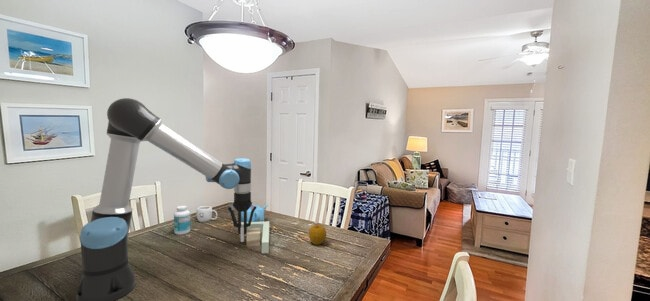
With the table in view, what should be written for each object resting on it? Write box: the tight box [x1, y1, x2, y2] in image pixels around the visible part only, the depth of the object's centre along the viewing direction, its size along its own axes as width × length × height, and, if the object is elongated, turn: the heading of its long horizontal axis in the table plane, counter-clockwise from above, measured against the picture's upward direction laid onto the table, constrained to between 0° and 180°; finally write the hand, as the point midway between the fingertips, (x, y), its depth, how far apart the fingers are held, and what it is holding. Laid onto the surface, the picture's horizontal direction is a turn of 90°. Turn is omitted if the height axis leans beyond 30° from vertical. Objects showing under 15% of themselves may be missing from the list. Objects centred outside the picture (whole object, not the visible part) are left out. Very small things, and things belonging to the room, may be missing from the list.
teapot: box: [236, 204, 269, 222], centre depth 150 cm, size 16×18×11 cm
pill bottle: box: [173, 205, 191, 236], centre depth 137 cm, size 8×7×14 cm
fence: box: [241, 220, 270, 254], centre depth 129 cm, size 26×15×5 cm, turn 11°
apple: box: [308, 224, 327, 246], centre depth 129 cm, size 9×8×9 cm
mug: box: [195, 205, 218, 223], centre depth 155 cm, size 12×8×8 cm
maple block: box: [246, 228, 261, 247], centre depth 127 cm, size 6×6×6 cm
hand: (242, 240), depth 127 cm, fingers closed
